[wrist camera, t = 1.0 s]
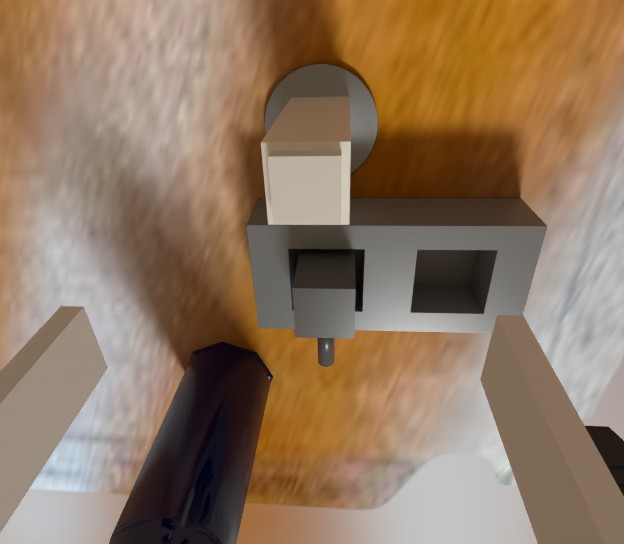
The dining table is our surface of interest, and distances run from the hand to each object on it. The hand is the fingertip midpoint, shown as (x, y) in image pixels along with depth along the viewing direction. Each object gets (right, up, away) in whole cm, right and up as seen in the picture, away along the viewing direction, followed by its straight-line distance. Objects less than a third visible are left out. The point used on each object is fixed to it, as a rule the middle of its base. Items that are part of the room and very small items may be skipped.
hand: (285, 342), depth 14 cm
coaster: (+1, +13, +17) cm, 21 cm away
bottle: (-8, -8, +30) cm, 32 cm away
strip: (+7, +4, +21) cm, 23 cm away
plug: (+1, +13, +16) cm, 21 cm away
